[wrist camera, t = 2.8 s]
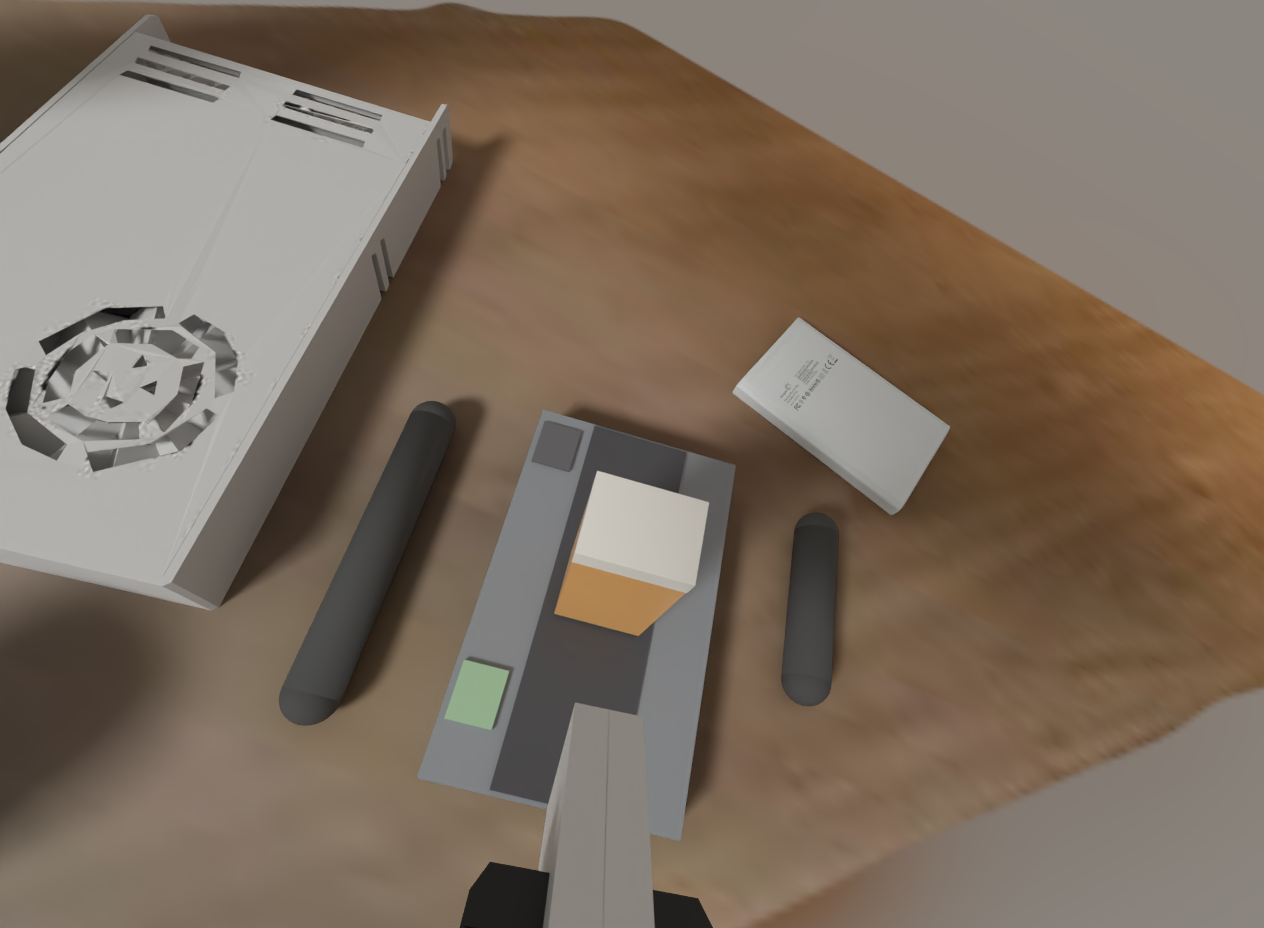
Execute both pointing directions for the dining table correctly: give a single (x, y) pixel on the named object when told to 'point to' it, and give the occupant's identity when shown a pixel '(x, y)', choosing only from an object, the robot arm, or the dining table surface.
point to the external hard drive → (844, 414)
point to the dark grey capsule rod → (811, 611)
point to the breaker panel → (578, 632)
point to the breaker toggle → (632, 554)
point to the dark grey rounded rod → (366, 569)
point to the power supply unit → (185, 303)
